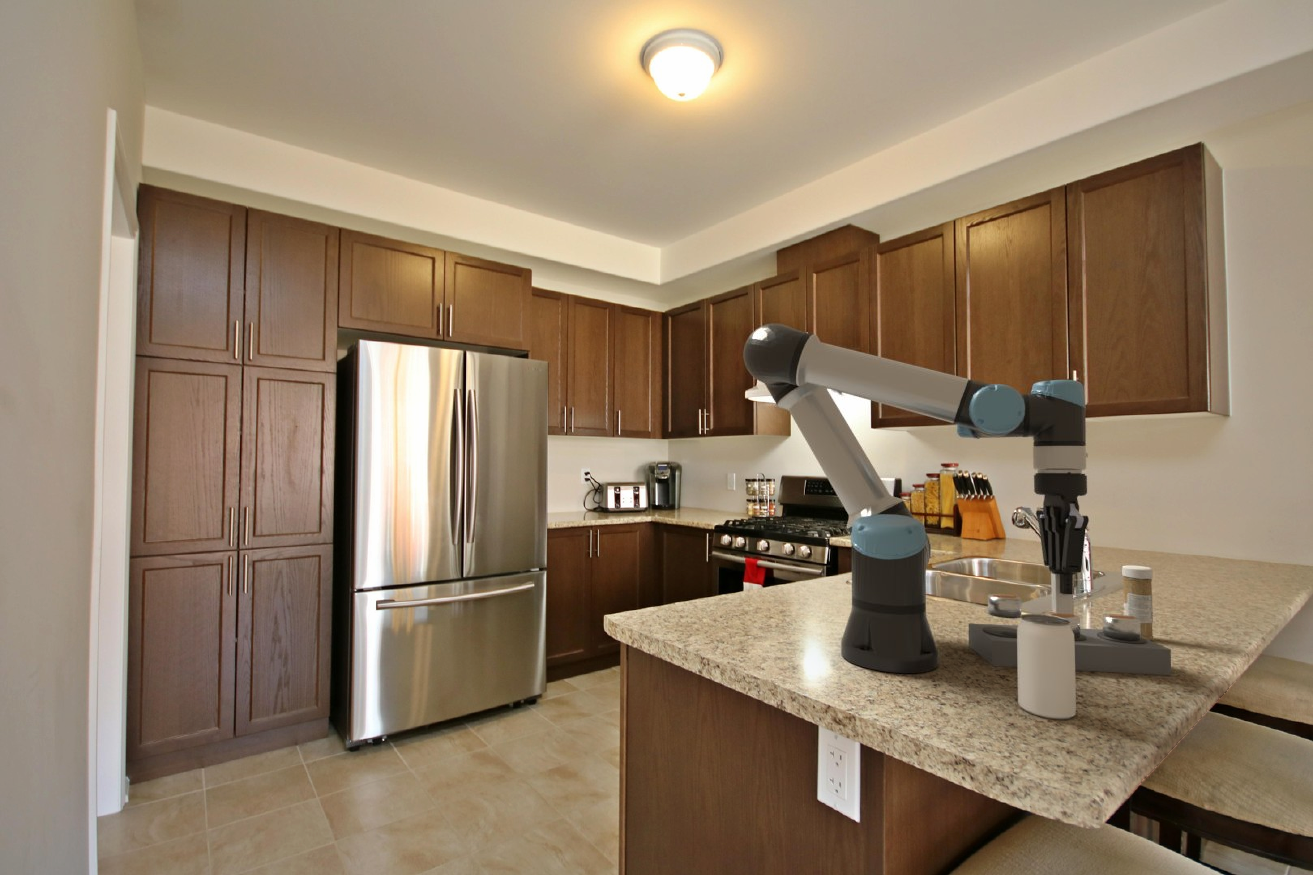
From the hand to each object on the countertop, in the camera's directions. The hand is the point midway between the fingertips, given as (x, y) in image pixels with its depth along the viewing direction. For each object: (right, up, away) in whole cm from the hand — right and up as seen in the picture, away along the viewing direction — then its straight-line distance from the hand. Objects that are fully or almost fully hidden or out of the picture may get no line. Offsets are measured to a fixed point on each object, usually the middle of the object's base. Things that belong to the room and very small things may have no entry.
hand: (1062, 612), depth 104 cm
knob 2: (+9, -4, -1) cm, 10 cm away
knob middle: (0, -4, 0) cm, 4 cm away
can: (-17, -7, -22) cm, 28 cm away
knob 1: (-9, -1, +1) cm, 9 cm away
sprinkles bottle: (+23, -9, +13) cm, 28 cm away
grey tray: (0, -8, 0) cm, 8 cm away
